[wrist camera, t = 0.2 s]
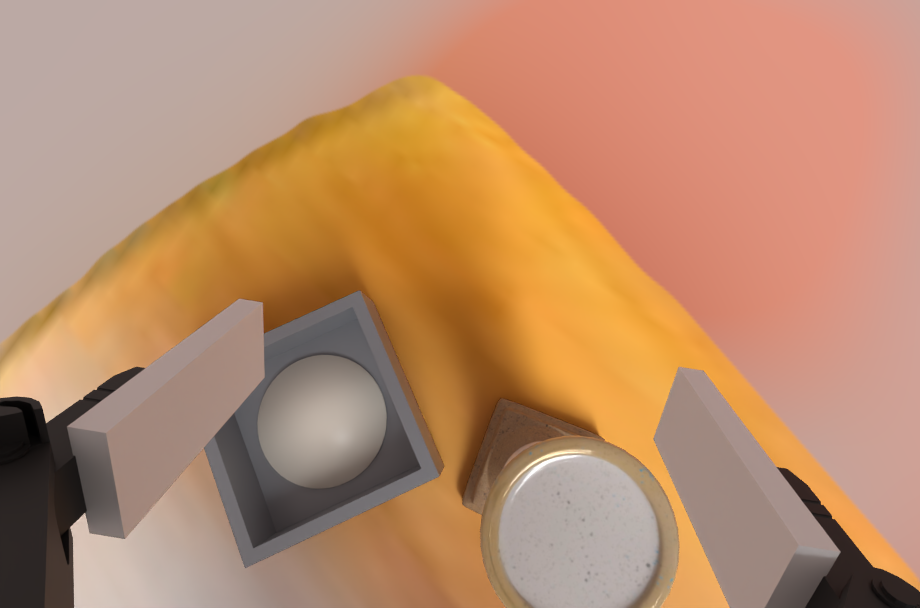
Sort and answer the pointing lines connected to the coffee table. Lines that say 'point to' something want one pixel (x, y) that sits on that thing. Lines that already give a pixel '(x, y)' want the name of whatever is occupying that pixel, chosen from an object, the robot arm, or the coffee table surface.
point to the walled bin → (320, 431)
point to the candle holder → (569, 517)
